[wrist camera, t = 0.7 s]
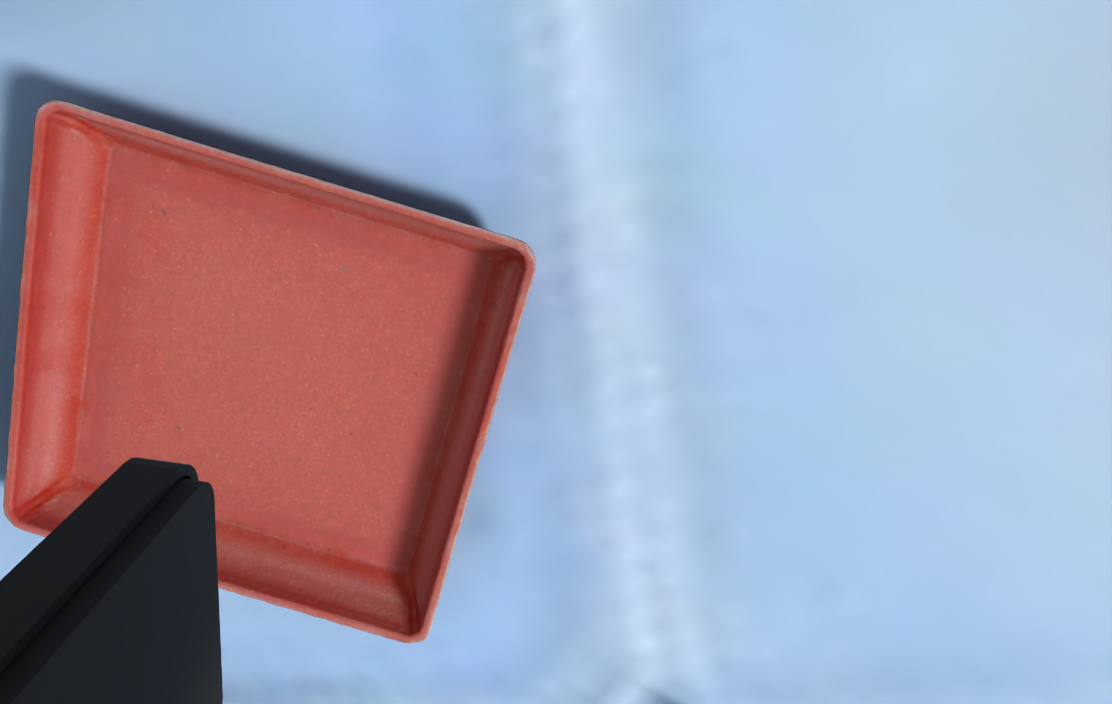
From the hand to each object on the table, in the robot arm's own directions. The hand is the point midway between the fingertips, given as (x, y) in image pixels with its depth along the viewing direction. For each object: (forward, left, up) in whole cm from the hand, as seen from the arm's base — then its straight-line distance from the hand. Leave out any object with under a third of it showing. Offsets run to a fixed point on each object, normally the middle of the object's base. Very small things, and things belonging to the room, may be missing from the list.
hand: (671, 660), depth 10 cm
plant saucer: (+15, -10, -29) cm, 34 cm away
